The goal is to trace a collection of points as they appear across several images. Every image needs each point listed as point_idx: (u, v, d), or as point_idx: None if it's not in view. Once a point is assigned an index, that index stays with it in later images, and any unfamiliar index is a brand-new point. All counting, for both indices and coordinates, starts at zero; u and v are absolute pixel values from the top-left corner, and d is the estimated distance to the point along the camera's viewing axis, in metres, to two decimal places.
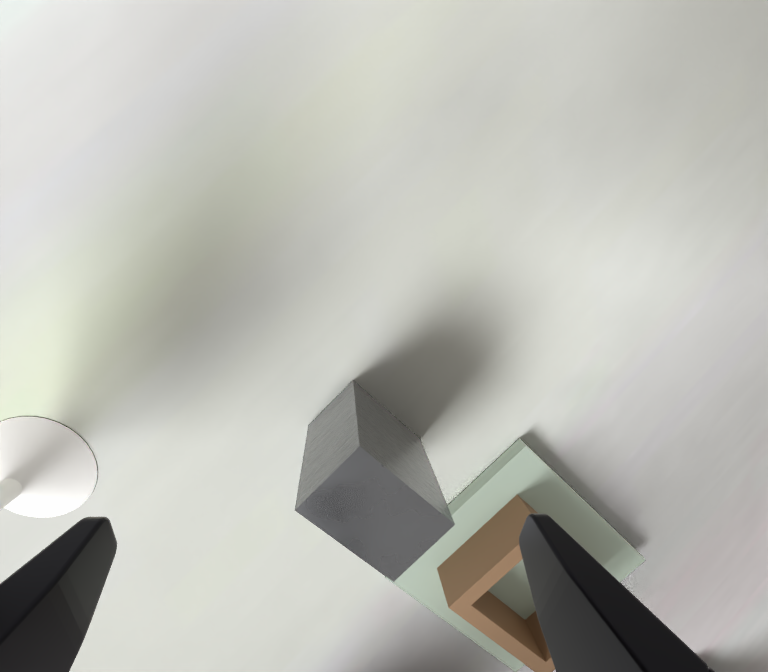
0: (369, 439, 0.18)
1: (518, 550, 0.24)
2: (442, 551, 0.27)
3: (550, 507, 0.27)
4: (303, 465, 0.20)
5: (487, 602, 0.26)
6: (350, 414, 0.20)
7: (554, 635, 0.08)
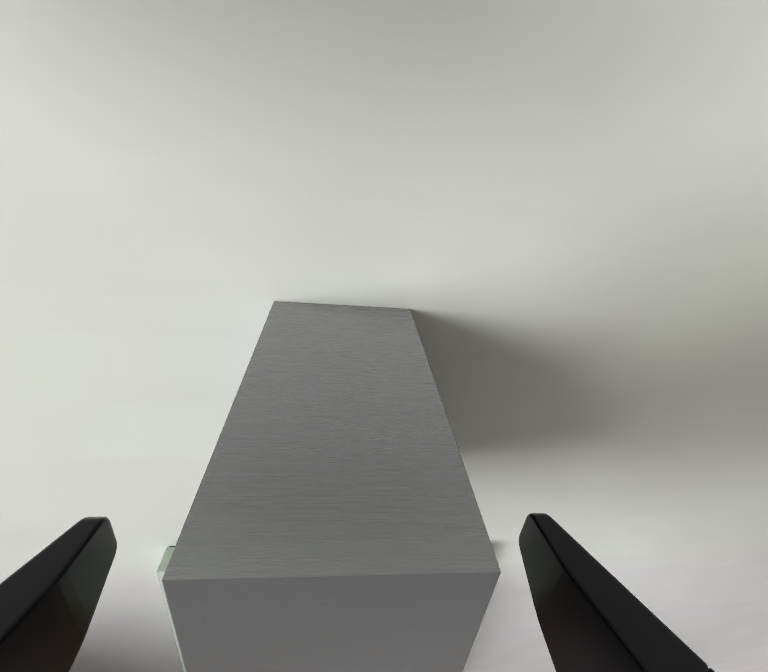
0: None
1: None
2: None
3: None
4: (241, 398, 0.07)
5: None
6: (422, 396, 0.08)
7: (554, 635, 0.08)
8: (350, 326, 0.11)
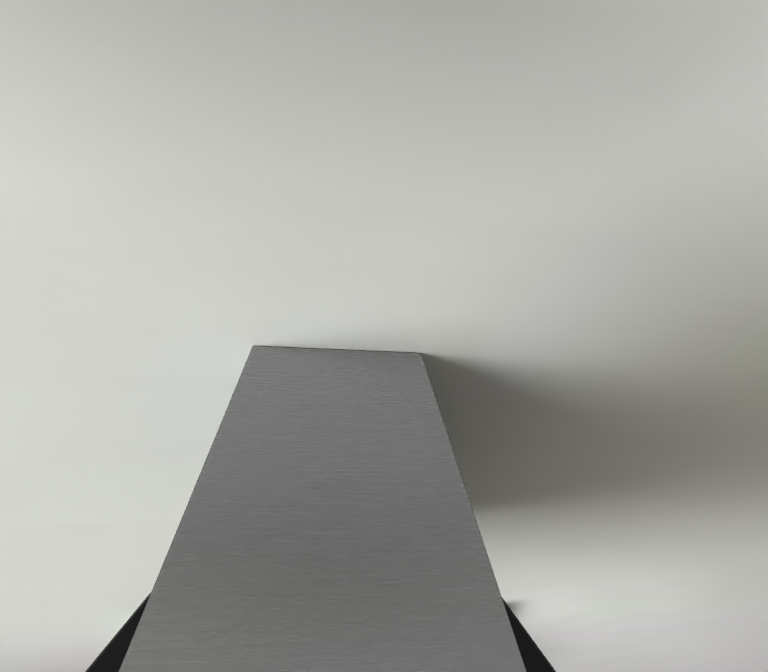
0: None
1: None
2: None
3: None
4: (191, 520, 0.05)
5: None
6: (446, 502, 0.06)
7: None
8: (347, 383, 0.08)
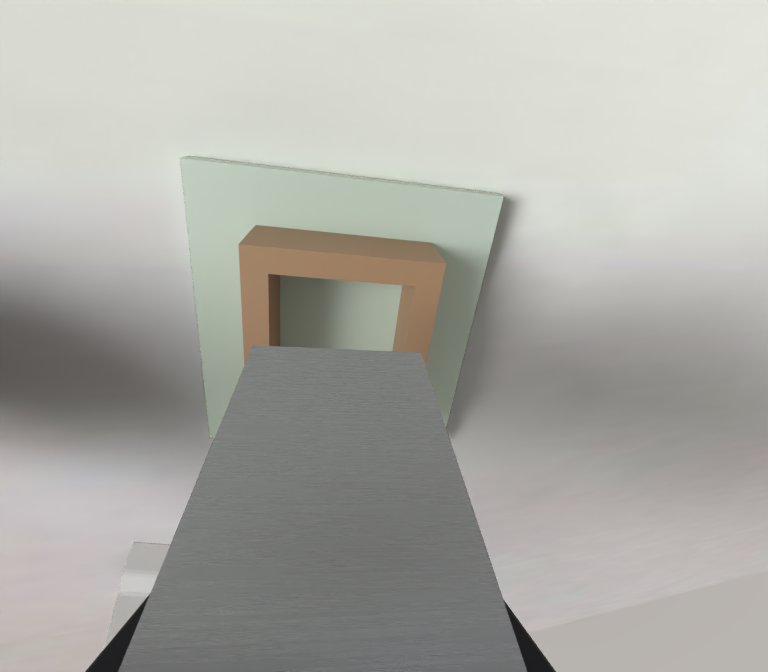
0: None
1: (393, 267, 0.15)
2: (284, 211, 0.16)
3: (439, 298, 0.19)
4: (190, 520, 0.05)
5: (275, 315, 0.17)
6: (446, 502, 0.06)
7: None
8: (347, 382, 0.08)
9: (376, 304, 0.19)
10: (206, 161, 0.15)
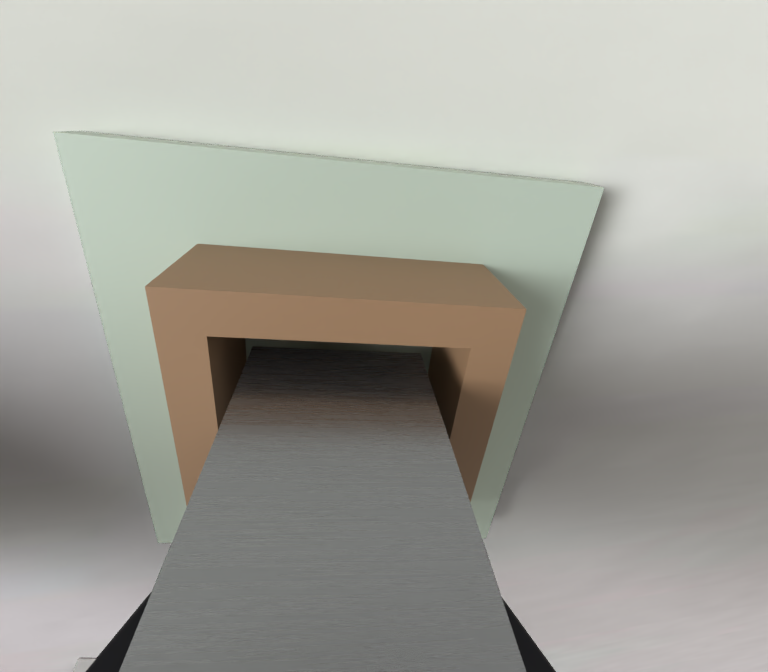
0: None
1: (433, 318, 0.08)
2: (244, 220, 0.10)
3: None
4: (189, 521, 0.05)
5: (234, 389, 0.10)
6: (446, 502, 0.06)
7: None
8: (347, 383, 0.08)
9: None
10: (102, 137, 0.09)
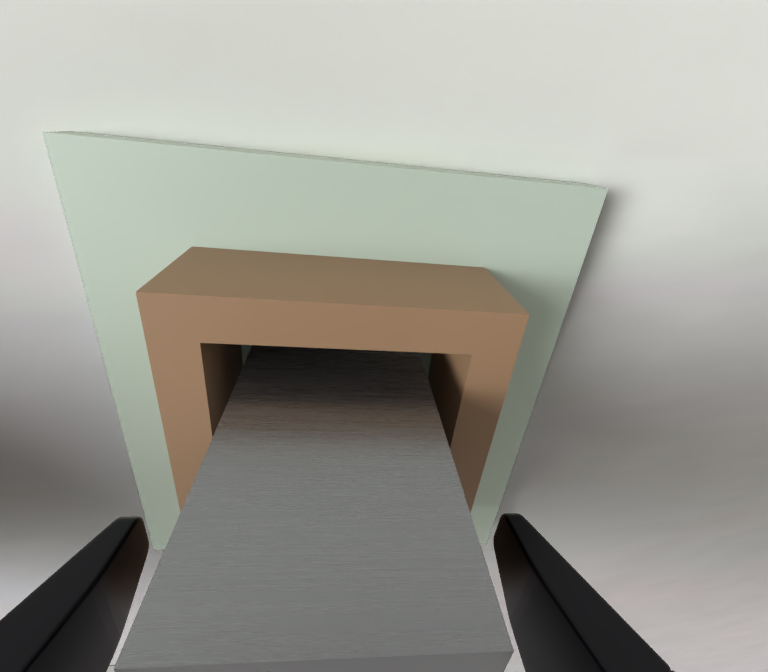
0: None
1: (433, 323, 0.08)
2: (239, 222, 0.10)
3: None
4: (223, 429, 0.07)
5: (230, 395, 0.10)
6: (423, 425, 0.07)
7: (524, 636, 0.08)
8: None
9: None
10: (93, 138, 0.09)
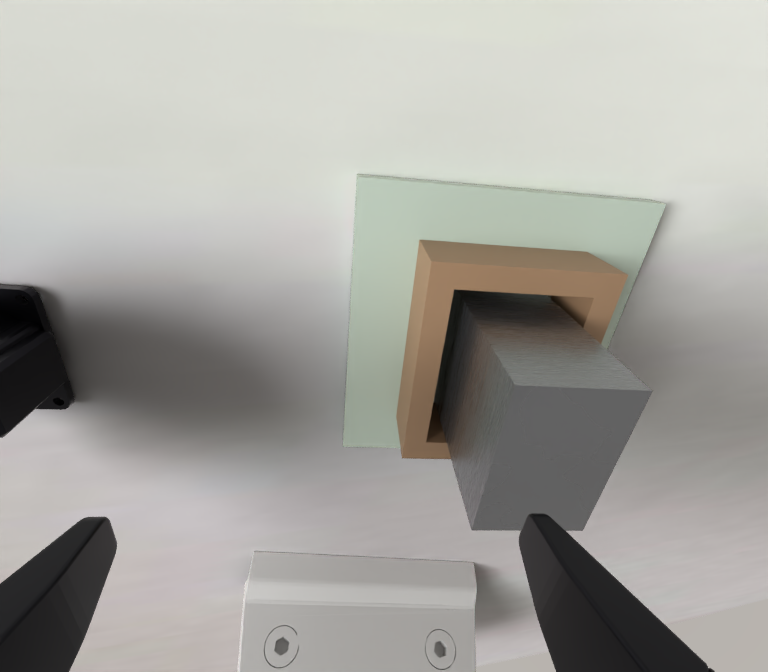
0: None
1: (576, 279, 0.15)
2: (449, 225, 0.17)
3: None
4: (484, 328, 0.14)
5: None
6: (576, 330, 0.14)
7: (554, 635, 0.08)
8: (509, 295, 0.17)
9: None
10: (381, 179, 0.16)
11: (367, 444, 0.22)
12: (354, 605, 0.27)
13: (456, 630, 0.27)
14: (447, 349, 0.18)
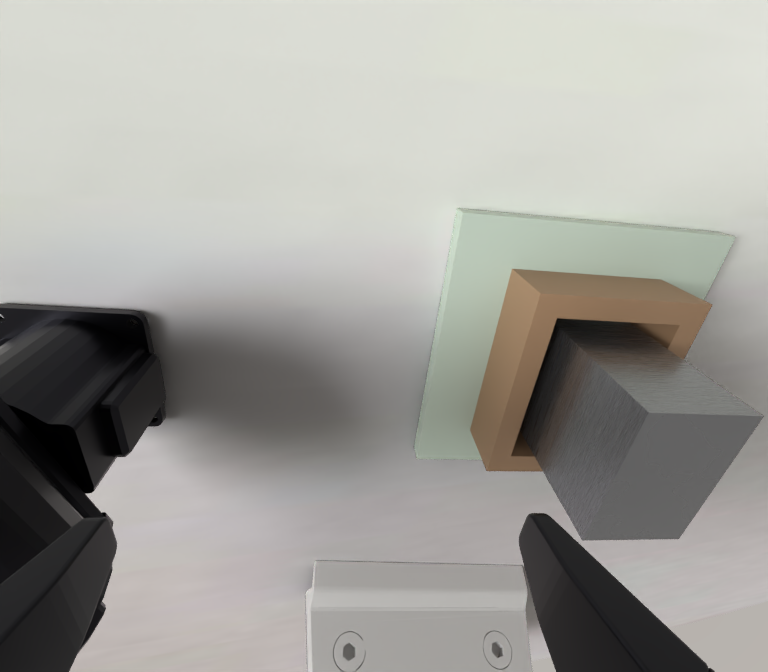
0: None
1: (666, 309, 0.16)
2: (540, 255, 0.18)
3: None
4: (592, 355, 0.15)
5: None
6: (670, 356, 0.16)
7: (554, 635, 0.08)
8: (594, 321, 0.18)
9: None
10: (484, 214, 0.17)
11: (439, 456, 0.23)
12: (413, 610, 0.28)
13: (510, 631, 0.29)
14: None
